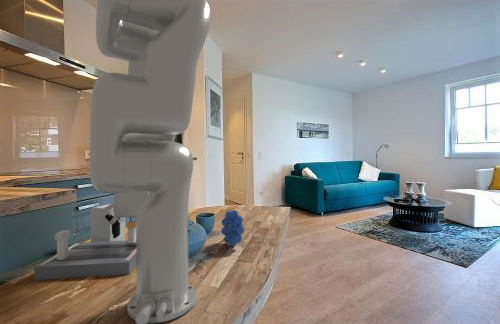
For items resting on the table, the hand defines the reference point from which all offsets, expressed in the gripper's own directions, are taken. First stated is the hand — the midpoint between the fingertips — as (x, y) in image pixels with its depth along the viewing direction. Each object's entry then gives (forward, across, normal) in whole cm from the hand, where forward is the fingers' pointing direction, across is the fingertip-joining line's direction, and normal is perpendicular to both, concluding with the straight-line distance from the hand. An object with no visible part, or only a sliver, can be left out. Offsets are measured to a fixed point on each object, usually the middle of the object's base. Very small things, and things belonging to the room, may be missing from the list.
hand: (134, 236), depth 71 cm
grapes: (+6, -30, -4) cm, 31 cm away
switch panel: (+6, +8, +4) cm, 10 cm away
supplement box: (+6, +12, -12) cm, 18 cm away
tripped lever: (+2, +1, 0) cm, 2 cm away
